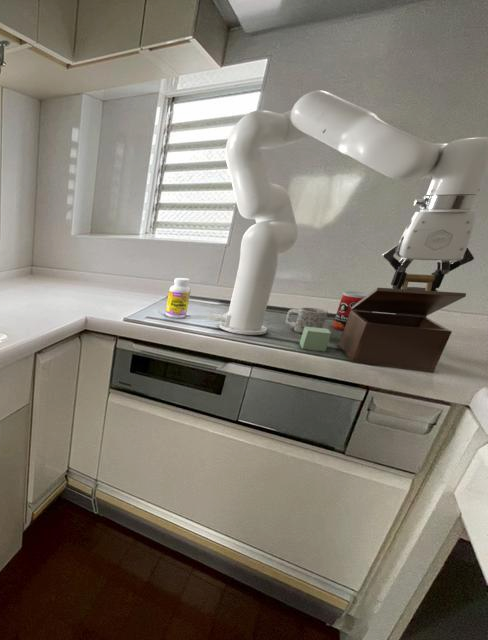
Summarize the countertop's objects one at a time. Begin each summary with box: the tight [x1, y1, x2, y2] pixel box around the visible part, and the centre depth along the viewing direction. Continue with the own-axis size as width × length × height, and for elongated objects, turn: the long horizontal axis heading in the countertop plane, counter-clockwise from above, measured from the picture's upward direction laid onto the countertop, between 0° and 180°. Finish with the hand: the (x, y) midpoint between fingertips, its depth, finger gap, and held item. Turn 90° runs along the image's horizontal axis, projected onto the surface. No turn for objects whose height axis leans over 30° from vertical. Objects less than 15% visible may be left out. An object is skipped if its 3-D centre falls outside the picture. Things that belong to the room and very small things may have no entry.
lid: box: [351, 273, 467, 317], centre depth 96 cm, size 15×15×5 cm
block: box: [298, 326, 333, 353], centre depth 108 cm, size 5×5×5 cm
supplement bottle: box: [165, 277, 192, 319], centre depth 138 cm, size 7×7×13 cm
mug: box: [285, 307, 329, 334], centre depth 123 cm, size 10×7×7 cm
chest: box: [338, 310, 453, 373], centre depth 99 cm, size 15×15×10 cm
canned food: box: [332, 290, 371, 332], centre depth 123 cm, size 8×8×11 cm
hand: (413, 289), depth 93 cm, fingers closed on lid, 5 cm apart
